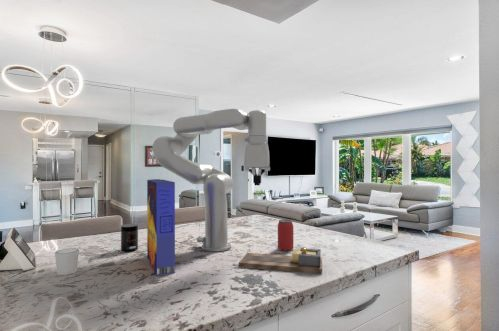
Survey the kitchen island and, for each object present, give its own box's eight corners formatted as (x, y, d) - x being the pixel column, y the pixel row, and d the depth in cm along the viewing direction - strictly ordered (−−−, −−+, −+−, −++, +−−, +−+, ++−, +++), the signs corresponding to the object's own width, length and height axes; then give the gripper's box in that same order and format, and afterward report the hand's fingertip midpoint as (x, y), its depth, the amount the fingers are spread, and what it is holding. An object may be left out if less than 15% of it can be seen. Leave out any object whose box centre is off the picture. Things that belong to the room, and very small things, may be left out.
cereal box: (147, 257, 114) (147, 179, 114) (163, 255, 116) (163, 179, 117) (156, 275, 94) (155, 181, 94) (174, 272, 97) (174, 181, 97)
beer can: (293, 251, 121) (292, 222, 121) (276, 250, 122) (276, 221, 122) (293, 247, 127) (293, 219, 127) (278, 246, 128) (278, 218, 128)
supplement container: (132, 247, 128) (132, 223, 128) (141, 249, 124) (141, 225, 124) (117, 250, 123) (117, 225, 123) (125, 253, 119) (125, 227, 119)
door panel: (238, 266, 102) (238, 262, 102) (247, 256, 114) (247, 252, 114) (321, 273, 96) (321, 268, 96) (322, 262, 107) (322, 257, 107)
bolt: (292, 262, 102) (292, 248, 102) (293, 258, 106) (293, 245, 106) (315, 264, 100) (315, 250, 100) (316, 260, 104) (316, 247, 104)
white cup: (61, 277, 93) (61, 254, 93) (50, 273, 97) (50, 251, 97) (83, 270, 99) (83, 249, 99) (72, 267, 103) (72, 246, 103)
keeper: (298, 265, 99) (298, 255, 99) (300, 257, 107) (300, 248, 107) (320, 267, 97) (320, 256, 97) (320, 259, 106) (320, 249, 106)
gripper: (237, 140, 121) (237, 185, 121) (273, 139, 117) (273, 186, 117) (242, 142, 128) (242, 184, 128) (276, 141, 124) (276, 184, 124)
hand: (257, 185), depth 122 cm, fingers closed
